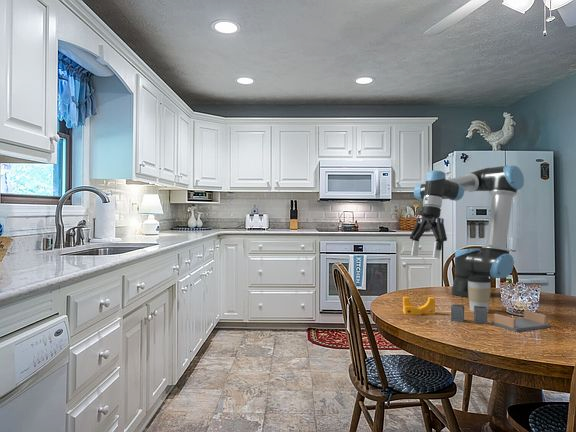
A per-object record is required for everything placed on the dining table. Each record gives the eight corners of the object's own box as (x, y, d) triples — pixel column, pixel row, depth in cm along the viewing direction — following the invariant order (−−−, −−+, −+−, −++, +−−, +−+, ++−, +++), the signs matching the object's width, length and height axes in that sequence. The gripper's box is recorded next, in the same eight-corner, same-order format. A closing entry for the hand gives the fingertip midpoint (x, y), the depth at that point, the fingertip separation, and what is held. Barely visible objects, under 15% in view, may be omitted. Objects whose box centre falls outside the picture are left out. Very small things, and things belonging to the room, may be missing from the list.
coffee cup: (490, 314, 155) (490, 277, 155) (465, 311, 160) (465, 275, 160) (492, 310, 163) (492, 274, 163) (468, 307, 167) (468, 272, 167)
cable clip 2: (475, 322, 142) (475, 307, 142) (474, 320, 145) (474, 305, 145) (487, 324, 141) (487, 308, 141) (485, 321, 144) (486, 306, 144)
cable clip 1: (451, 320, 146) (451, 305, 146) (452, 318, 148) (452, 304, 148) (462, 322, 143) (462, 307, 143) (464, 320, 146) (464, 305, 146)
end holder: (523, 320, 147) (523, 309, 147) (549, 327, 137) (549, 315, 137) (491, 324, 141) (491, 313, 141) (516, 331, 132) (516, 319, 132)
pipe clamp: (405, 314, 154) (405, 298, 154) (402, 312, 159) (403, 296, 159) (436, 315, 153) (436, 299, 153) (432, 313, 158) (433, 297, 158)
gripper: (405, 207, 174) (399, 253, 172) (445, 203, 150) (438, 257, 148) (419, 210, 176) (413, 256, 174) (460, 207, 153) (453, 260, 151)
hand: (424, 257), depth 161 cm, fingers open, 13 cm apart
